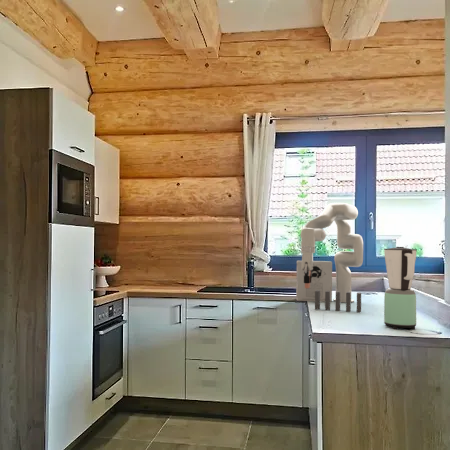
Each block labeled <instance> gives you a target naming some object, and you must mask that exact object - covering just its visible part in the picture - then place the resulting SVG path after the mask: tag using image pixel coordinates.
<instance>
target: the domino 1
mask: <svg viewBox="0 0 450 450" xmlns="http://www.w3.org/2000/svg"><path fill="white" fill-rule="evenodd" d="M309 276H310V271H309ZM305 288H310V283H305Z"/></svg>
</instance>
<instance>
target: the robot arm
mask: <svg viewBox="0 0 450 450" xmlns="http://www.w3.org/2000/svg"><path fill="white" fill-rule="evenodd" d="M358 215H359V211H358V208H357V207H356V206H355V205H352V204H350V203H346V202H331V203H328V204H327V205H326V206H325V207H324V209H323V211H322V212H321V213H320V214H319V215H318V216H317V217H315V218H313V219H311V220H309V221H308V222H307V223H306V224H304V226H303V227H302V229H301V231H300V238H301V240H300V243H301V244H300V245H301V248H300V249H301V251H300V252H301V254H302V256H301V261H302V268H301V269H302V270H304V283H311V276H309V271H310V275H311V270H312V269H313V261H314V254H315V253H316V242H323V241H324V240H325V239H326V237H327V233H326V231H325V230H324V229H326V228H329V227H330V226H331V225H332V224H333V222H334V223H335V225H336V230H337V231H336V232H337V233H336V234H337V235H336V243H337V244H336V245H337V247H338V248H339V249H341V250H342V251H341V250H340V251H337V252H336V253H335V254H334V256H333V257H334V258H333V259H334V264H335V293H336V292H337V291H339V292H340V303H346V292H351V293H352V278H353V277H352V272H351V270H350V268H349V267H351V268H352V267H353V268H359V267H360V268H361V267H362V265H363V261H364V240H363V236H362V235H360V234H358V233H352V226H351V223H350V222H349V221H354V220H356V219H357V217H358ZM347 250H353V251H347ZM332 301H333V302H335V303H336V298H332ZM354 301H355V300H354V299H352V298H351V303H354Z"/></svg>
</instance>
